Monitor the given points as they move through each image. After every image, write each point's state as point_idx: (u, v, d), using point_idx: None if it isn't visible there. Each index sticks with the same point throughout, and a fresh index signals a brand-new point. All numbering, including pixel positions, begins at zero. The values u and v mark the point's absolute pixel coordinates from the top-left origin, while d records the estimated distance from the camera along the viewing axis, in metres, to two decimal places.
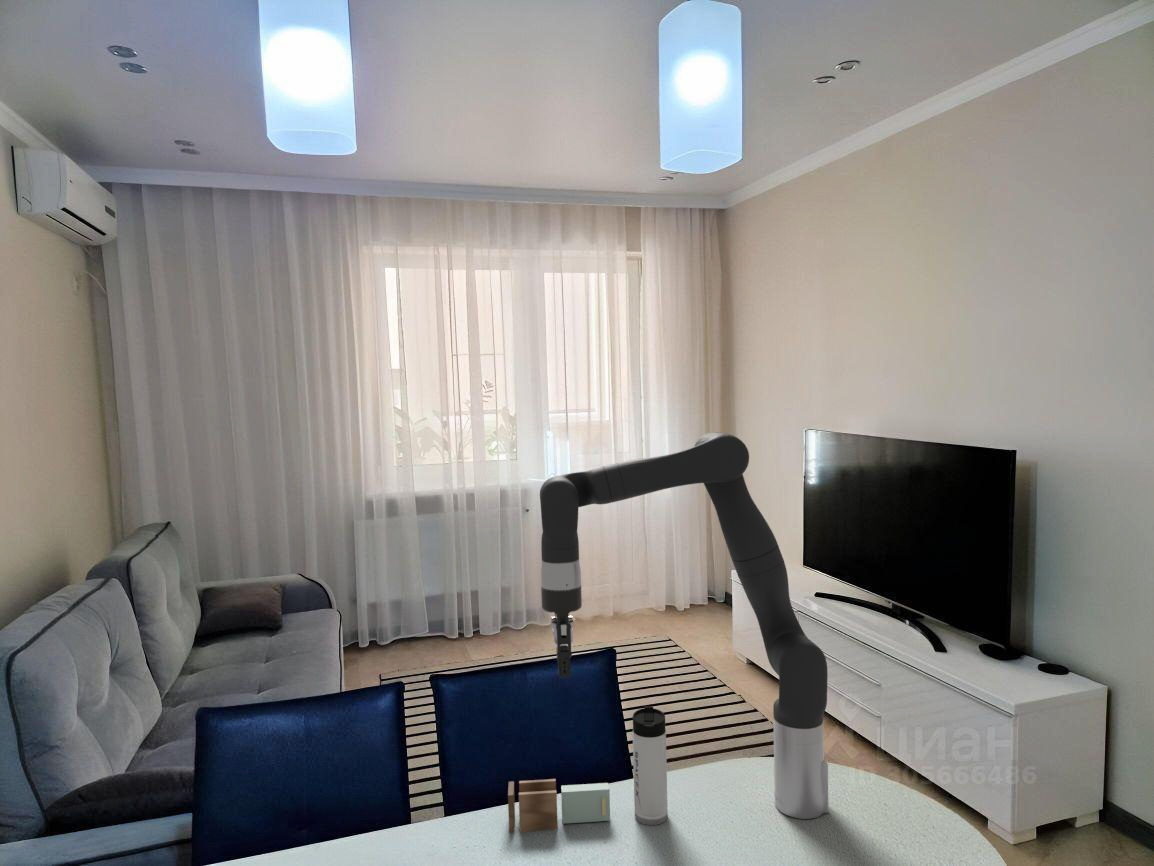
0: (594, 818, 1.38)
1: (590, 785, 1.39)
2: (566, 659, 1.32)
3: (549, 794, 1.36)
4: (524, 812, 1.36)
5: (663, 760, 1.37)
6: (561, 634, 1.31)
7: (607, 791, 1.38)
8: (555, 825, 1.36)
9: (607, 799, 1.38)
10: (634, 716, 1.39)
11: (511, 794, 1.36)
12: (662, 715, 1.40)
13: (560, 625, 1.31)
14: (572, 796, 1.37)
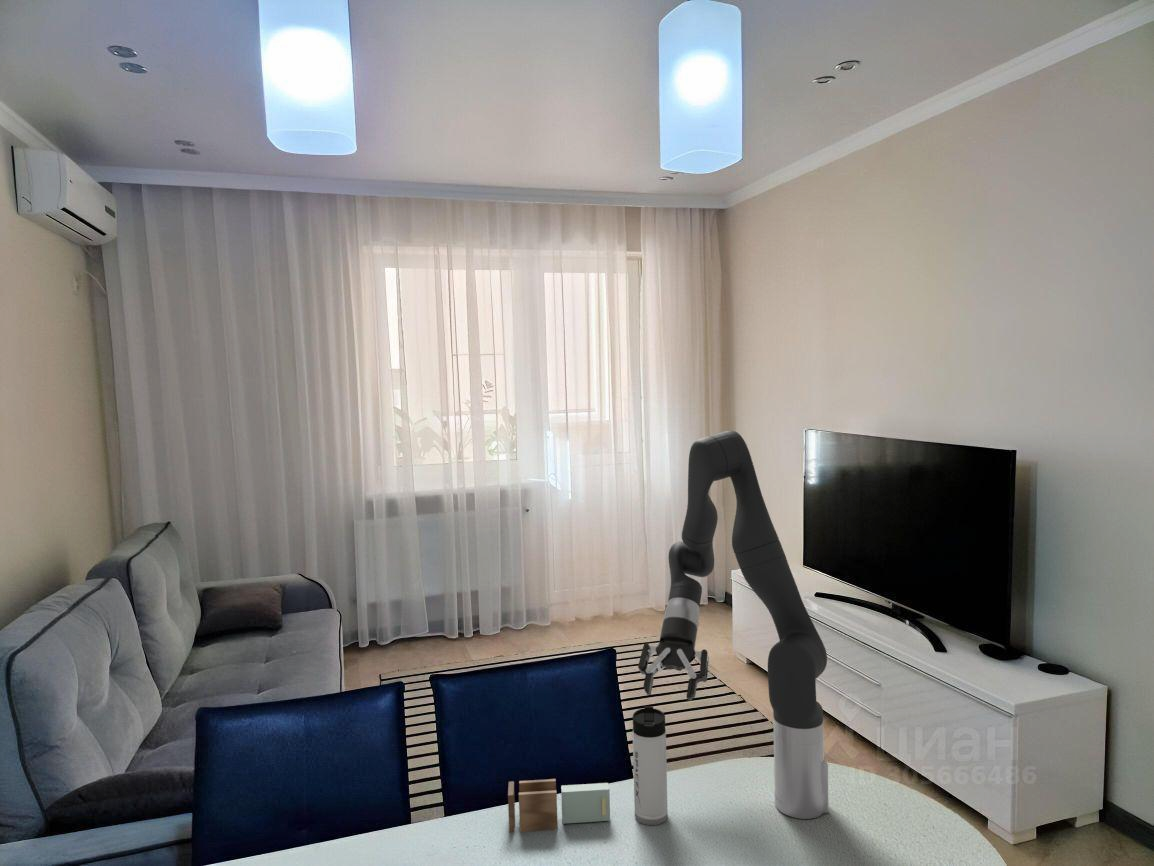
0: (594, 818, 1.38)
1: (590, 785, 1.39)
2: None
3: (549, 794, 1.36)
4: (524, 812, 1.36)
5: (663, 760, 1.37)
6: None
7: (607, 791, 1.38)
8: (555, 825, 1.36)
9: (607, 799, 1.38)
10: (634, 716, 1.39)
11: (511, 794, 1.36)
12: (662, 715, 1.40)
13: None
14: (572, 796, 1.37)
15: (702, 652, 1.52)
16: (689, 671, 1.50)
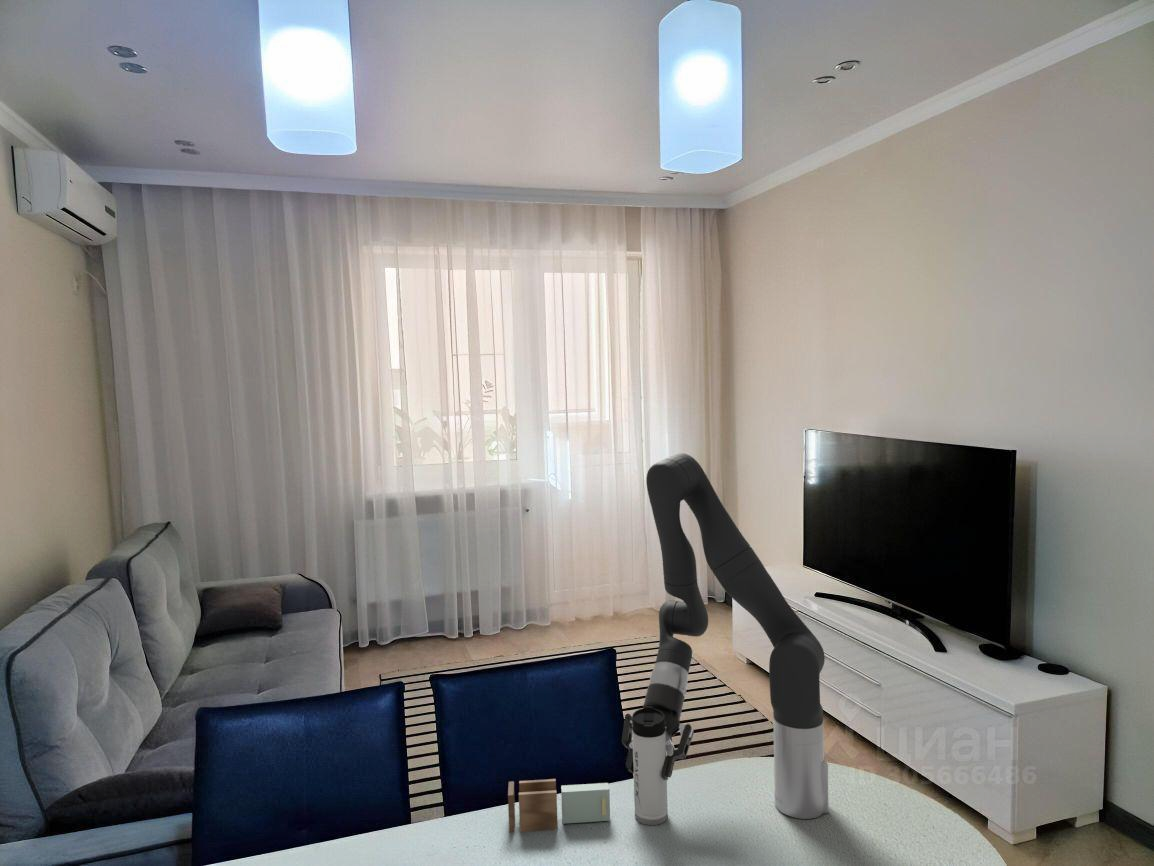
0: (594, 818, 1.38)
1: (590, 785, 1.39)
2: (629, 750, 1.42)
3: (549, 794, 1.36)
4: (524, 812, 1.36)
5: (663, 760, 1.37)
6: None
7: (607, 791, 1.38)
8: (555, 825, 1.36)
9: (607, 799, 1.38)
10: (634, 716, 1.39)
11: (511, 794, 1.36)
12: (662, 715, 1.39)
13: None
14: (572, 796, 1.37)
15: (685, 727, 1.40)
16: (667, 746, 1.39)
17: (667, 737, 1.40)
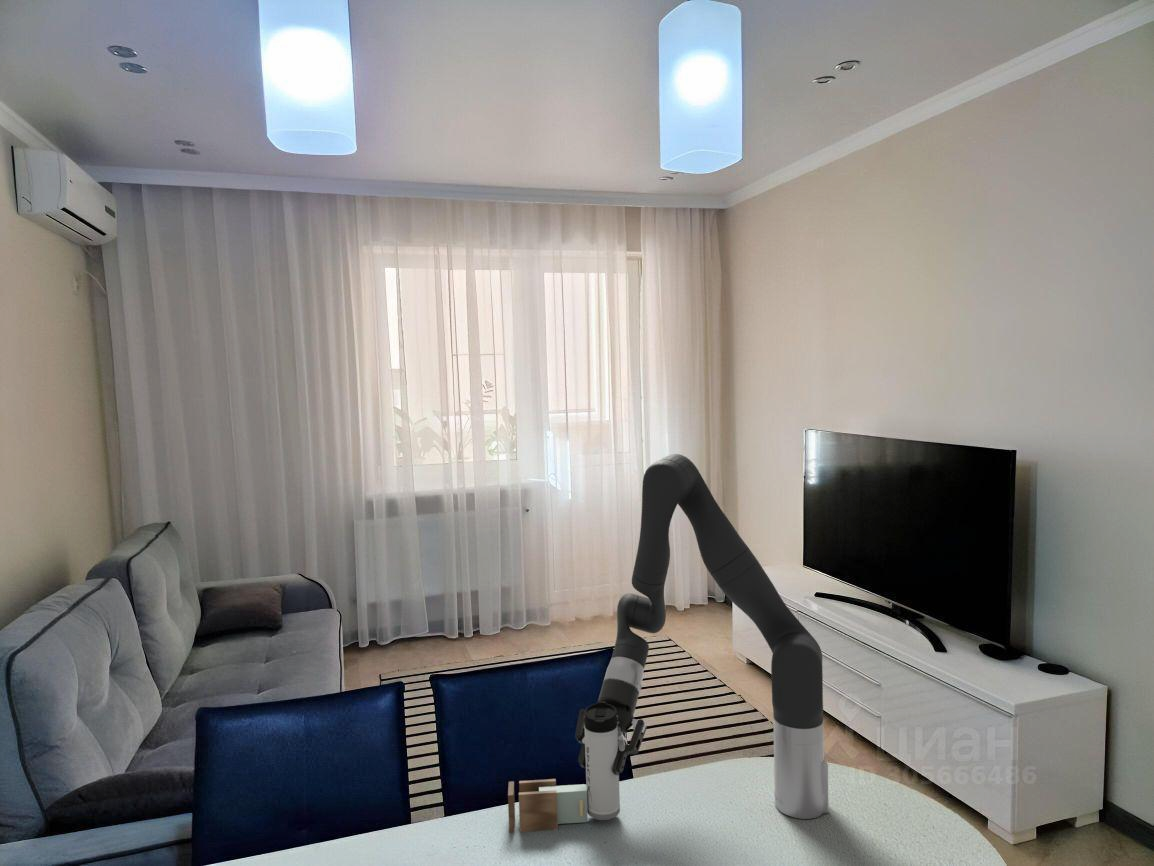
0: (571, 819, 1.38)
1: (568, 786, 1.39)
2: (582, 745, 1.42)
3: (549, 794, 1.36)
4: (524, 812, 1.36)
5: (615, 755, 1.37)
6: None
7: (585, 792, 1.38)
8: (555, 825, 1.36)
9: (584, 800, 1.38)
10: (586, 711, 1.39)
11: (511, 794, 1.36)
12: (614, 710, 1.39)
13: None
14: None
15: (638, 722, 1.40)
16: (619, 742, 1.39)
17: (619, 732, 1.39)
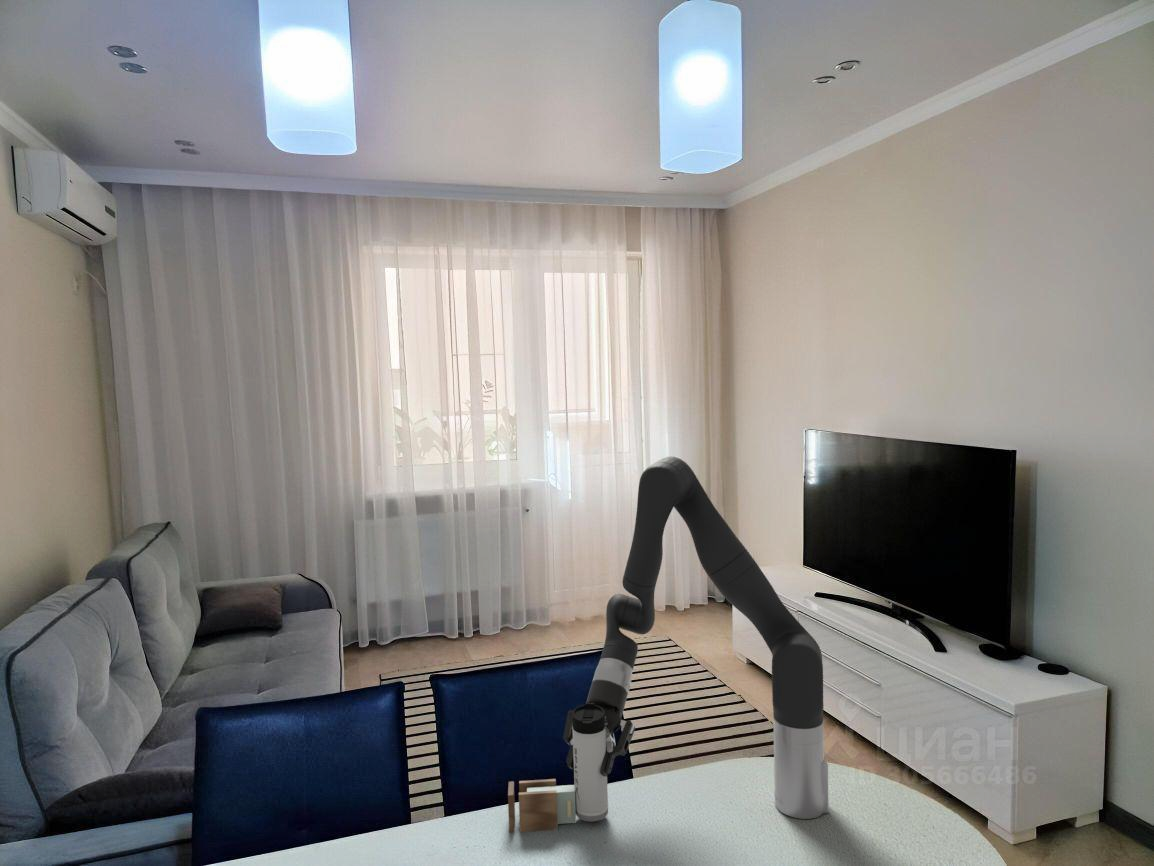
0: (559, 820, 1.37)
1: (556, 787, 1.39)
2: None
3: (549, 794, 1.36)
4: (524, 812, 1.36)
5: (603, 756, 1.37)
6: None
7: (573, 793, 1.37)
8: (555, 825, 1.36)
9: (572, 801, 1.38)
10: (574, 713, 1.39)
11: (511, 794, 1.36)
12: (602, 711, 1.39)
13: None
14: None
15: (626, 723, 1.40)
16: (607, 743, 1.38)
17: (607, 733, 1.39)
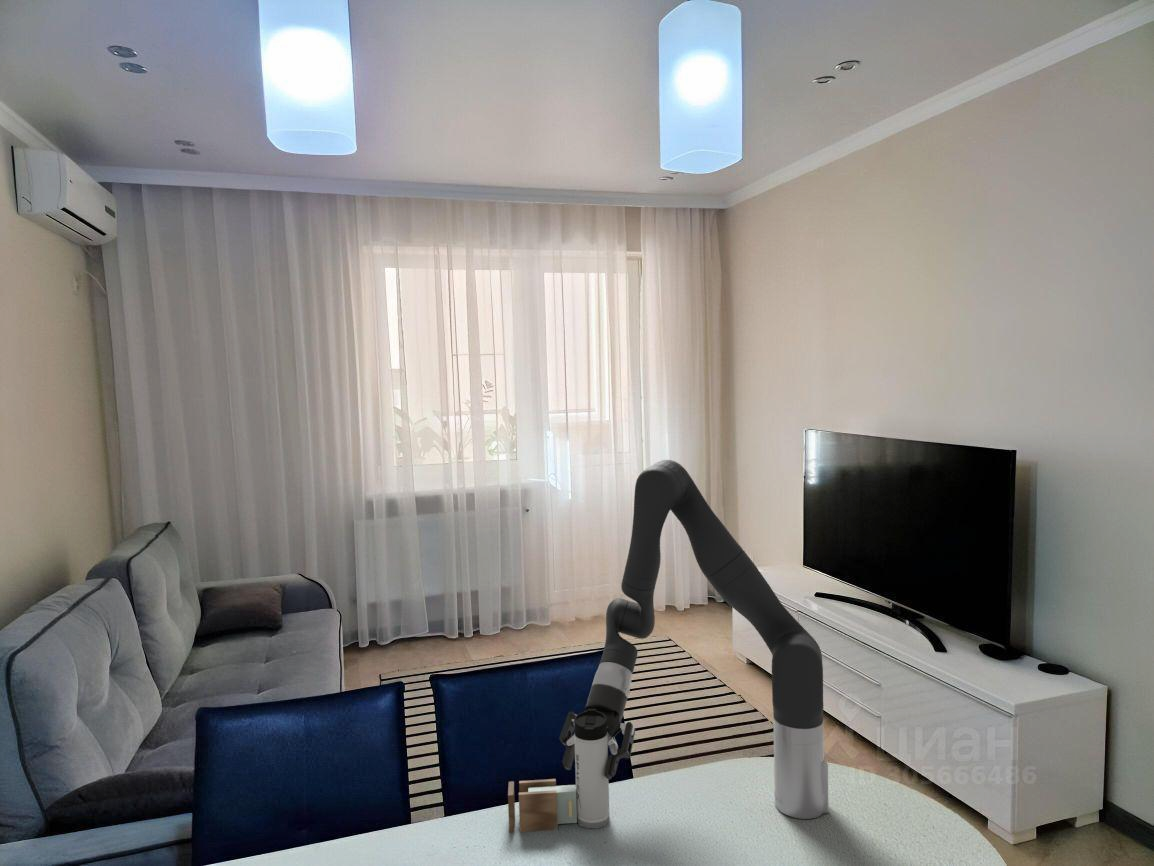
0: (561, 820, 1.37)
1: (557, 787, 1.39)
2: None
3: (549, 794, 1.36)
4: (524, 812, 1.36)
5: (604, 763, 1.37)
6: None
7: (574, 793, 1.37)
8: (555, 825, 1.36)
9: (574, 801, 1.38)
10: (576, 719, 1.39)
11: (511, 794, 1.36)
12: (604, 718, 1.39)
13: None
14: None
15: (626, 725, 1.40)
16: (610, 746, 1.38)
17: (609, 737, 1.39)
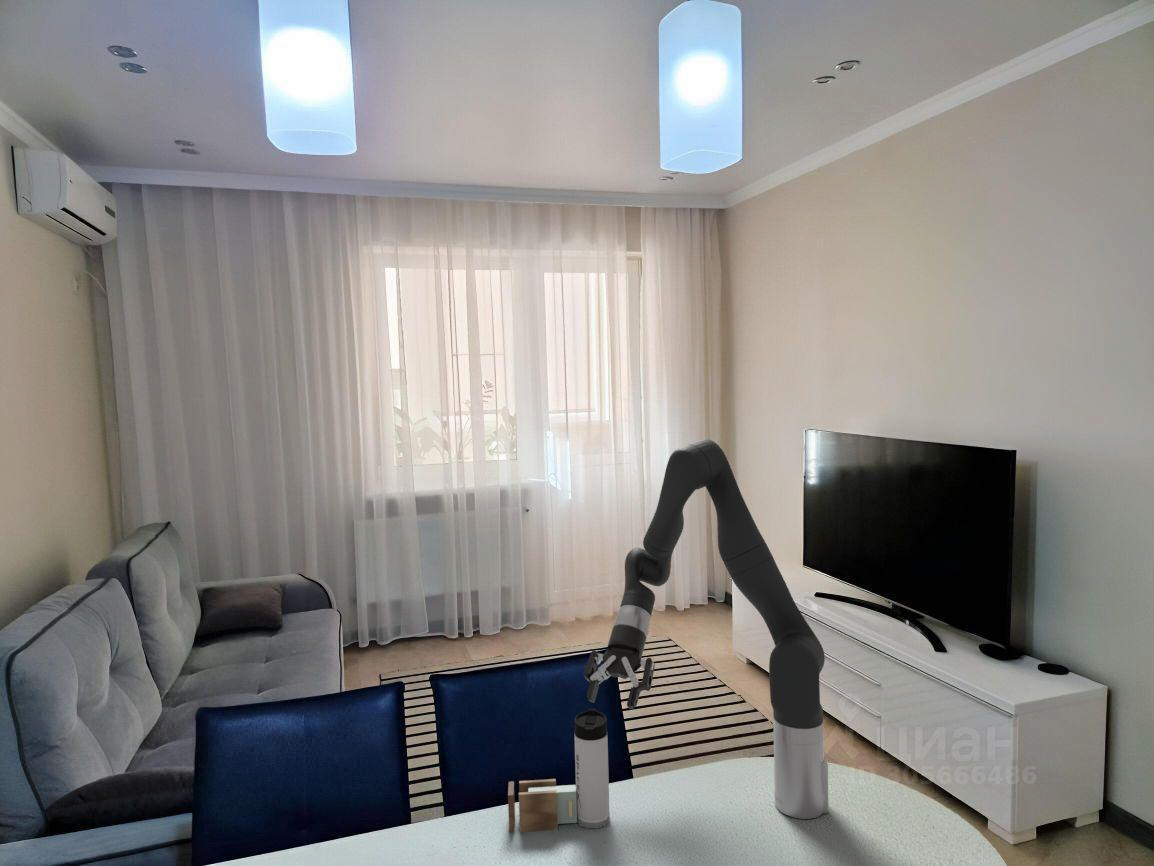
0: (561, 820, 1.37)
1: (557, 787, 1.39)
2: (590, 682, 1.52)
3: (549, 794, 1.36)
4: (524, 812, 1.36)
5: (604, 763, 1.37)
6: None
7: (574, 793, 1.37)
8: (555, 825, 1.36)
9: (574, 801, 1.38)
10: (576, 719, 1.39)
11: (511, 794, 1.36)
12: (604, 718, 1.39)
13: None
14: None
15: (647, 660, 1.50)
16: (632, 679, 1.48)
17: (631, 671, 1.49)
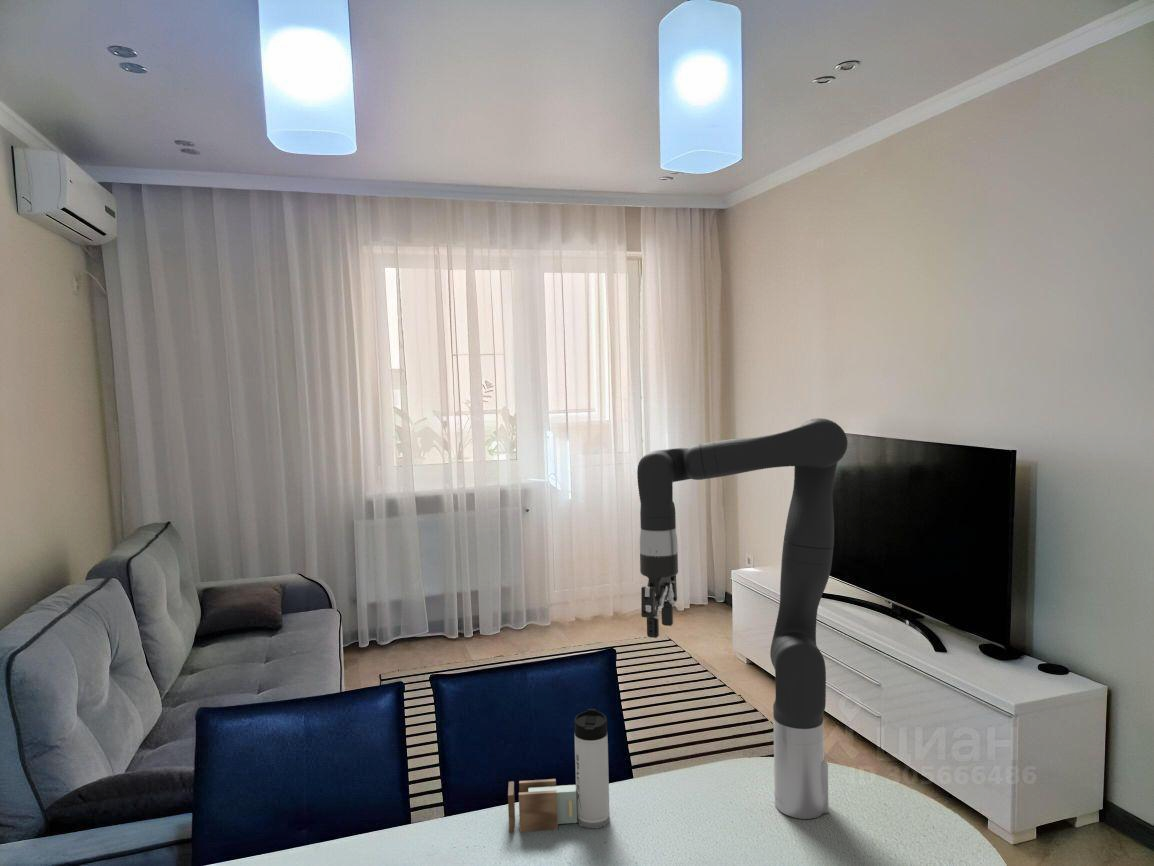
0: (561, 820, 1.37)
1: (557, 787, 1.39)
2: (652, 620, 1.42)
3: (549, 794, 1.36)
4: (524, 812, 1.36)
5: (604, 763, 1.37)
6: (645, 596, 1.41)
7: (574, 793, 1.37)
8: (555, 825, 1.36)
9: (574, 801, 1.38)
10: (576, 719, 1.39)
11: (511, 794, 1.36)
12: (604, 718, 1.39)
13: (644, 587, 1.41)
14: None
15: (674, 577, 1.51)
16: (671, 600, 1.50)
17: (673, 594, 1.49)
